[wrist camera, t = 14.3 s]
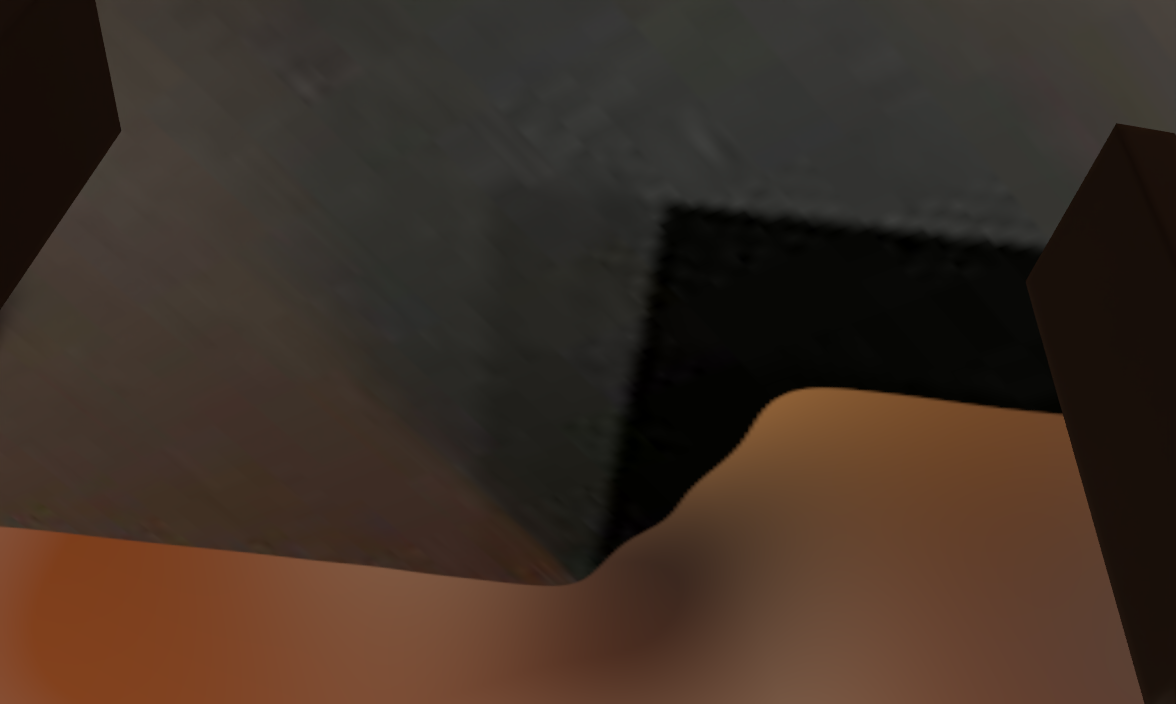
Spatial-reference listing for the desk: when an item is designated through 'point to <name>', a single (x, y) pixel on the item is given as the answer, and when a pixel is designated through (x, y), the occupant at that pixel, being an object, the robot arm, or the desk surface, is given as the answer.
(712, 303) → the desk surface
